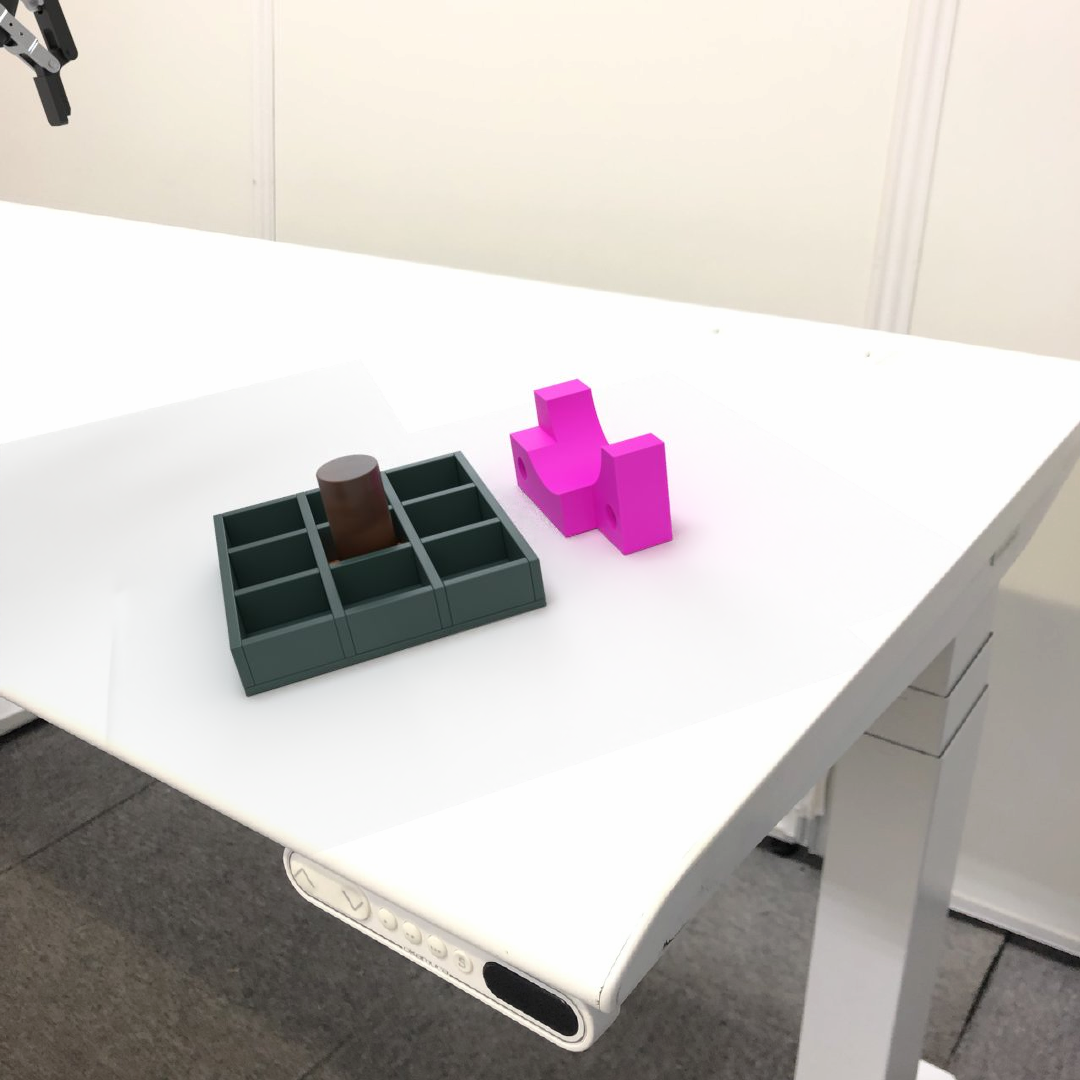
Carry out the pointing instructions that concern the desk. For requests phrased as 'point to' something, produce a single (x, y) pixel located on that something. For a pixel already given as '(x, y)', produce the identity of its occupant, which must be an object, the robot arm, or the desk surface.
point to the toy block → (592, 472)
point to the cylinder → (356, 505)
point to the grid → (369, 575)
